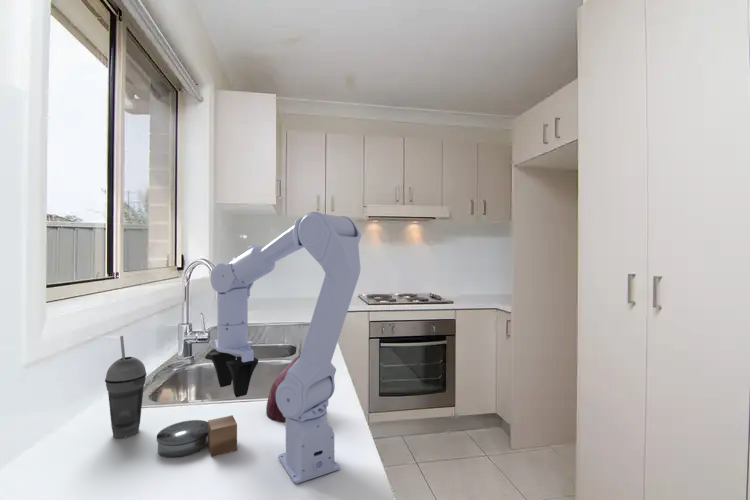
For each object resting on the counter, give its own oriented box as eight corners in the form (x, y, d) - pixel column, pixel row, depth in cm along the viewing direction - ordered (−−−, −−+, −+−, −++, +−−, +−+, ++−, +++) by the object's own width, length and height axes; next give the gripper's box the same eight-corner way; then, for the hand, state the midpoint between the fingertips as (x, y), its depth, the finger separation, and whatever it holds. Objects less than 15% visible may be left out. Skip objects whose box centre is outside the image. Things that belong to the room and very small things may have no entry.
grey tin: (214, 450, 71) (214, 434, 71) (157, 465, 66) (157, 448, 66) (207, 430, 79) (207, 416, 79) (156, 442, 74) (156, 427, 74)
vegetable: (313, 418, 91) (329, 357, 93) (300, 432, 81) (319, 363, 83) (273, 405, 92) (290, 345, 94) (256, 418, 82) (275, 350, 84)
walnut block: (237, 450, 70) (237, 424, 70) (211, 457, 68) (211, 429, 68) (232, 440, 74) (232, 415, 74) (207, 446, 72) (207, 420, 72)
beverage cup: (125, 443, 73) (126, 340, 73) (95, 439, 74) (95, 339, 75) (154, 426, 80) (155, 333, 80) (126, 423, 82) (126, 331, 82)
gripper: (268, 324, 73) (268, 394, 72) (237, 316, 83) (237, 377, 83) (232, 330, 68) (232, 405, 68) (204, 320, 78) (204, 385, 78)
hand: (232, 390), depth 75 cm, fingers open, 7 cm apart
